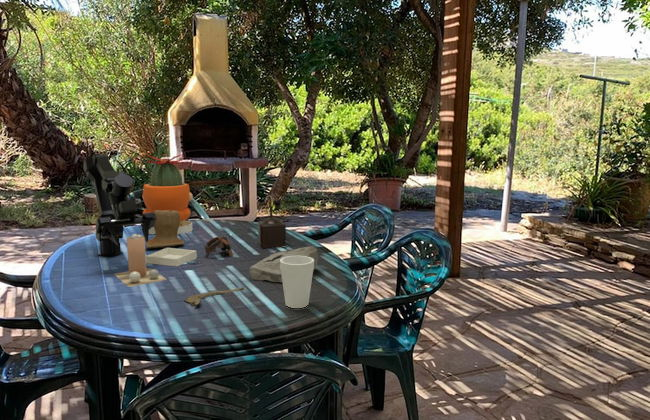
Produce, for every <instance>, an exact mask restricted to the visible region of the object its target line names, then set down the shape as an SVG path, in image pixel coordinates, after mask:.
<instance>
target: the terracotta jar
mask: <svg viewBox="0 0 650 420" xmlns="http://www.w3.org/2000/svg"><path fill="white" fill-rule="evenodd" d="M126 247H127V249H126V250H127V263H128V264H127V265H128V267H127V268H128V271H129V275H130V273H131V272H134V271H136V272H139V273H140V276H141V277H143V276H146V275H147V271H146V268H147V263H146V256H147V255H146V241H145V237H144V235H142V234H137V233H133V234H132V235H131V236H128V237H126Z"/></svg>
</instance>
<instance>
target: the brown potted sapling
mask: <svg viewBox="0 0 650 420" xmlns="http://www.w3.org/2000/svg"><path fill="white" fill-rule="evenodd" d="M282 203H283V200H281V198H275V199H273V200H272V204H273V205H274V209H273V205H269V206H268V207H269V210H268V212H269V217H268V218H267V219H264V220H262V221H260V220H259V221H257V236H258V237H257V239H258V243H259V244H258V243H257V244H258V246H259V245H260V246H259V247H260V248H261V249H273V248H272V247H282V246H286V245H287V242H286V235H287V232H286V230H287V229H286V228H287V227H286V224H285V223H284V221H283V220H281V219H280V217H278V218H276V217H273V212H274V213H275V212H276V211H277V212H278V211H279V210H281V209H282V208H281V206H282ZM286 247H287V246H286ZM282 248H283V247H282Z"/></svg>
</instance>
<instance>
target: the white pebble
mask: <svg viewBox="0 0 650 420" xmlns="http://www.w3.org/2000/svg"><path fill="white" fill-rule="evenodd" d="M140 277H141V276H140V273H139V272H136V271H134V272H131V273H130V275H129V280H130V281H131V282H138V281H139V280H140Z"/></svg>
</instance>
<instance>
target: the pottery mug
mask: <svg viewBox="0 0 650 420" xmlns="http://www.w3.org/2000/svg"><path fill="white" fill-rule="evenodd" d="M203 248H204V249H205V250H204V251H205V254H206V256H209V255H210V254H211V253H217V249H220V251H224V252H225V251H227V254H228V255H229V257H232V256H233V254H234V253H233V251H232V250H233V249H232V248H231V244H230V243H229V241H228V239H227V237H225V236H221V235H219V236H215V237H213V238H212V239H210V240H208V241H207V243H206V244H205V245H204V247H203Z"/></svg>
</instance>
